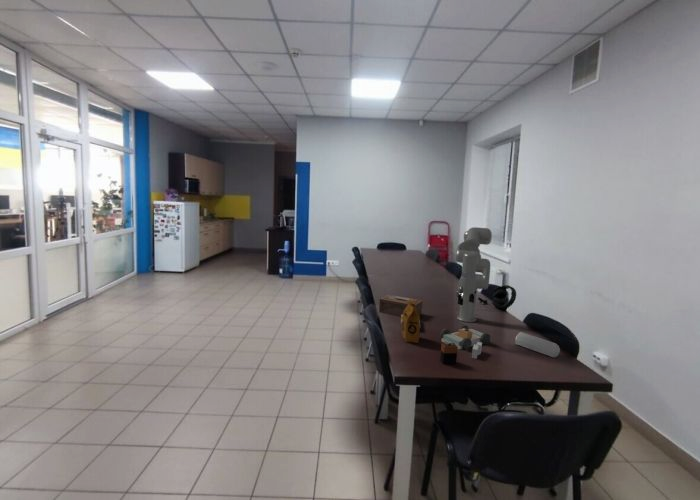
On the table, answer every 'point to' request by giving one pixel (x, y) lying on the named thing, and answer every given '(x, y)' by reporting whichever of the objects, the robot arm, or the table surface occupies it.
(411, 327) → the coffee package
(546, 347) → the crystal
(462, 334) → the box with black knob
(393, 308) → the tissue box cover
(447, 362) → the battery
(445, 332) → the chassis
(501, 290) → the headset
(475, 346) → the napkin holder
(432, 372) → the table surface
